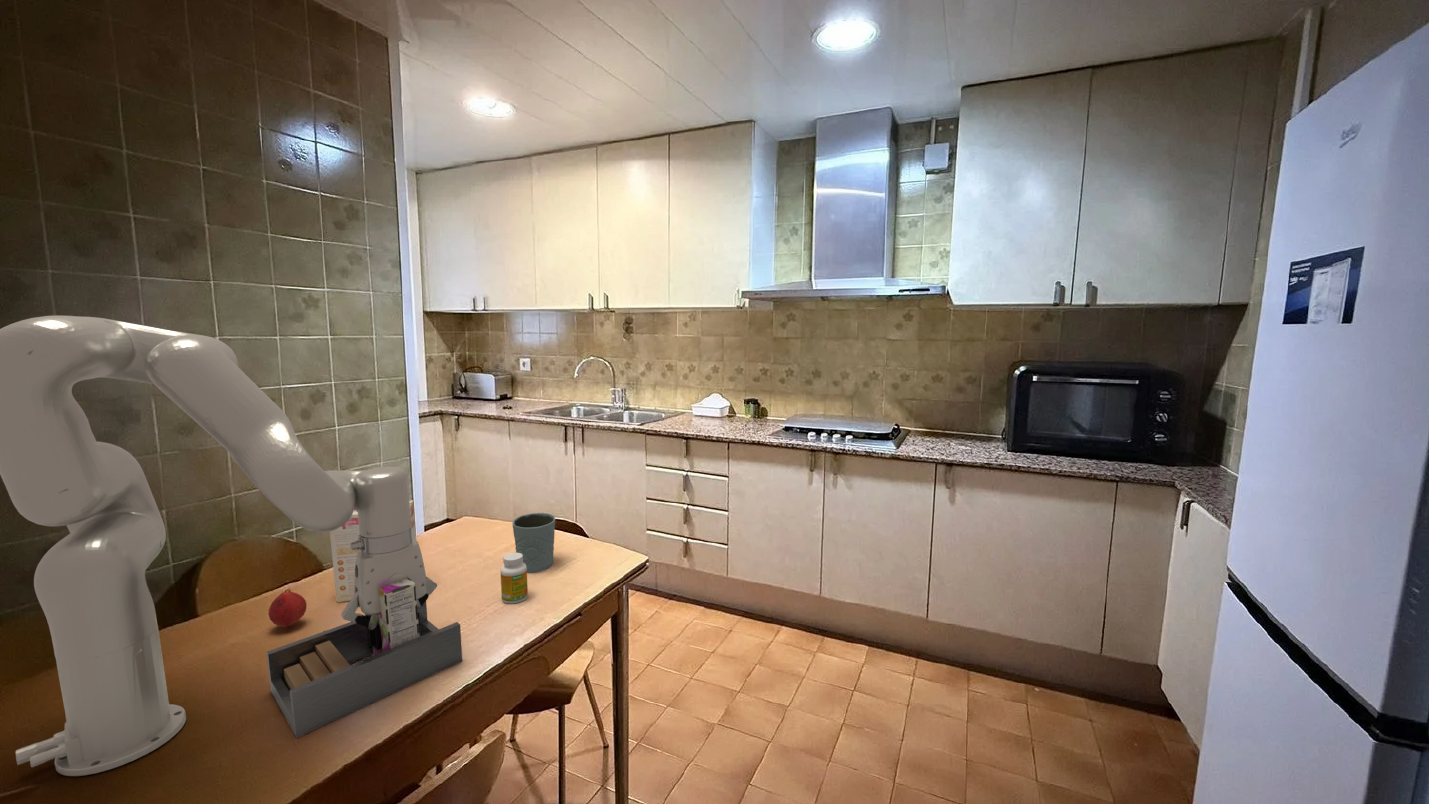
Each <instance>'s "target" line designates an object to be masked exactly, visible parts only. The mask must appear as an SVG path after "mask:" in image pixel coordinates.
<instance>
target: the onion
mask: <svg viewBox="0 0 1429 804" xmlns="http://www.w3.org/2000/svg"><path fill="white" fill-rule="evenodd" d="M306 612H307V601H306V599H305V598H304V597H303V596H302V595H301V594H299V593H297V592H293V591H292V588H290V587H286V588H284V589H283V590H282V592H281V593H280V594H279V595H278V596H276V598H274V600H273V601H272V602H271V604H270V606H269V609H268V618H269V620H270V621H271V622H272V623H273V625H276V626H279V627H284V628H292V627H294V626H295V624H296V623H297V622H299V620H301V619H302V617H304V616H305V613H306Z"/></svg>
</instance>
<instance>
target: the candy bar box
mask: <svg viewBox="0 0 1429 804" xmlns="http://www.w3.org/2000/svg"><path fill="white" fill-rule="evenodd" d="M415 585H416V584H415V583H414V582H413V581H412V580H411V579H410V578H407V579H404V580H402V581H398V582H395V583H392V584H389V585H387V586H384V587H381V588H380V603H381V613H379V617H378V621H377V625H378V626H379V627H380V630H381V640H382V648H381V649H380V650H376V649H375V648H374V647H373V655H372V656H375V655H377V654H380V653H382V652H385V651H387V650H389V649H392V648H394V647H397V646H399V645H402V644H404V643H407V642H409V641H412V640H414V639H416V638H419V637H421V635H420V636H419V624H418V610H417V600H416V587H415Z"/></svg>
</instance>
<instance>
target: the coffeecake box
mask: <svg viewBox="0 0 1429 804" xmlns="http://www.w3.org/2000/svg"><path fill="white" fill-rule="evenodd" d="M409 501H410V514H411V528H412V539H413V540H415V541H417V530H416V529H417V527H416V517H415V516H416V514H415V513H416V512H415V503H414V502H415V501H414V500H410V499H409ZM359 534H360V531H359V520H358V512H357V511H355V510H354V511H353V514H352V516H351V517H350V519H349V520H348V521H347V522H346V523H345V524H344V525H343V526H341V527H339V528H338V529H335V530H333V531H329V536H330V547H331V559H332V567H333V568H332V569H333V570H332V571H333V578H334V579H333V580H334V588H335V589H334V590H335V598H336V599H335V600H336V603H344V602H350V600H351V599H352V597H353V596H354V576H355V565H356V558H357V553H358V552H359V551H361V550H357V549H356V550H353V551H352V550H351V546H350V543H352V542H355V541H356V540H358V538H359ZM417 542H418V541H417Z"/></svg>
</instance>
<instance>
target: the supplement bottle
mask: <svg viewBox="0 0 1429 804" xmlns="http://www.w3.org/2000/svg"><path fill="white" fill-rule="evenodd" d="M502 560H503V565H502V566H501V568H500V586H501V589H500V591H501V601H502V602H503V603H505V604H509V605H510V604H519V603H521V602H523V601H525V600H526V599H527V598H528V597H529V596H528V595H529V594H528V592H529V590H528V589H529V588H528V573H527V566H526V564H525V563H523V555H522V554H521V553H516V552H510V553H507V554H505V555H504V556H503V558H502Z"/></svg>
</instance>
